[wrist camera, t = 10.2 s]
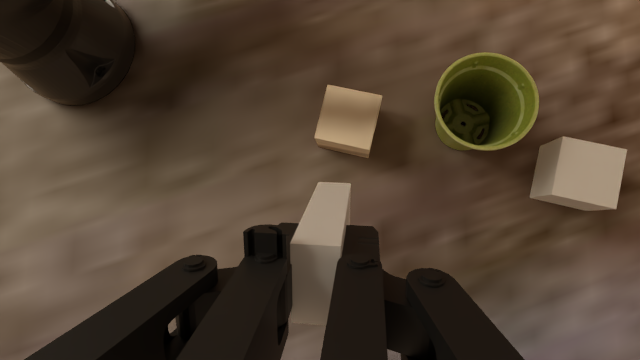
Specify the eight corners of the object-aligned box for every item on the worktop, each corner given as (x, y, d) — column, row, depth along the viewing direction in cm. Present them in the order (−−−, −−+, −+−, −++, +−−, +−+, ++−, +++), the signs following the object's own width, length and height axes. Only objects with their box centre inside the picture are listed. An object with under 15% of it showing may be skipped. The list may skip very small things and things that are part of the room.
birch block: (368, 158, 45) (369, 150, 40) (319, 147, 45) (314, 137, 40) (379, 109, 45) (382, 95, 40) (330, 99, 46) (327, 84, 41)
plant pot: (405, 141, 44) (417, 122, 36) (442, 72, 45) (462, 36, 36) (480, 179, 43) (511, 168, 34) (517, 107, 43) (557, 78, 35)
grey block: (585, 210, 42) (616, 209, 37) (528, 197, 42) (551, 194, 37) (595, 158, 42) (627, 149, 37) (539, 146, 43) (563, 136, 38)
